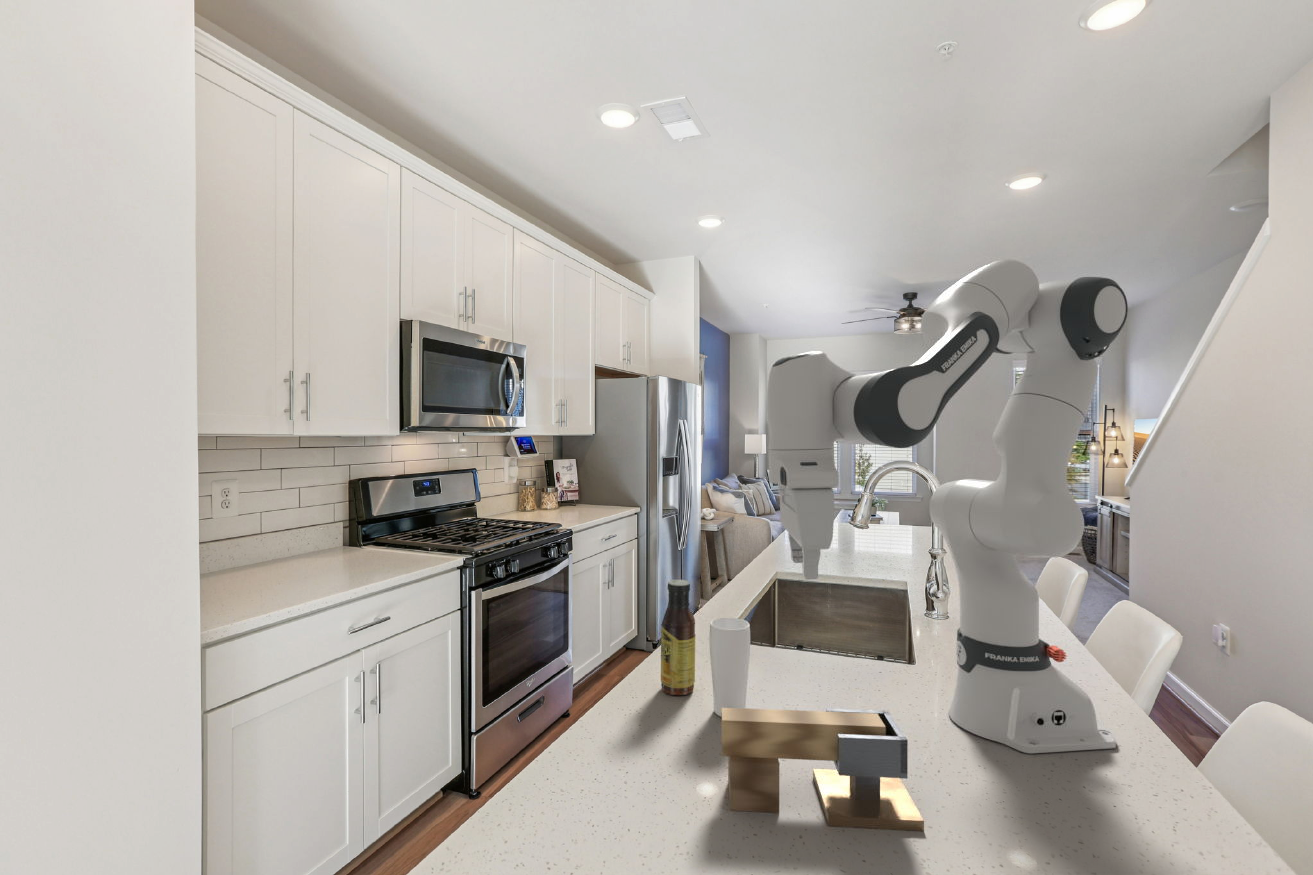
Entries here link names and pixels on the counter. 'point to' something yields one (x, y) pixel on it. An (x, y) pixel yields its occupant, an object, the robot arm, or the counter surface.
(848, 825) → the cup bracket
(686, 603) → the sauce bottle
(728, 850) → the counter surface
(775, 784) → the walnut block
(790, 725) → the oak rail
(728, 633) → the drinking glass
